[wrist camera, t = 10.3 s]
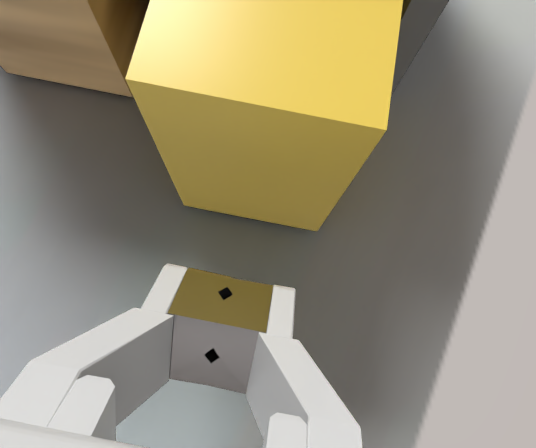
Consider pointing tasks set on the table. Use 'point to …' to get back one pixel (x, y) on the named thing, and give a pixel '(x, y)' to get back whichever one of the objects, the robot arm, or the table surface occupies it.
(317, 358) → the table surface
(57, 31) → the light wood block
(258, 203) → the yellow rectangular block
